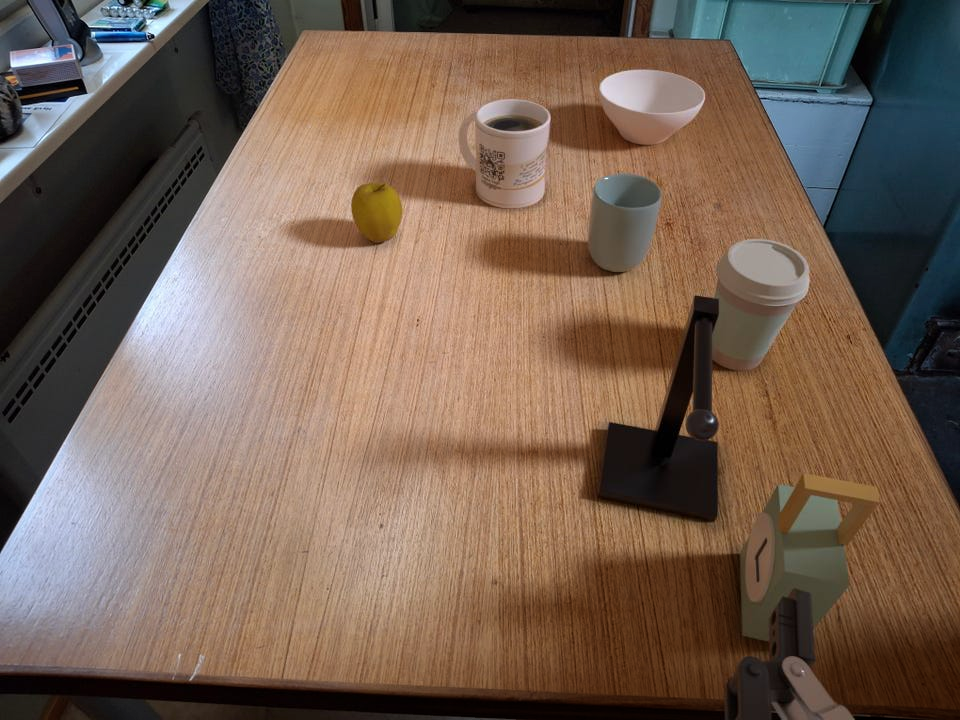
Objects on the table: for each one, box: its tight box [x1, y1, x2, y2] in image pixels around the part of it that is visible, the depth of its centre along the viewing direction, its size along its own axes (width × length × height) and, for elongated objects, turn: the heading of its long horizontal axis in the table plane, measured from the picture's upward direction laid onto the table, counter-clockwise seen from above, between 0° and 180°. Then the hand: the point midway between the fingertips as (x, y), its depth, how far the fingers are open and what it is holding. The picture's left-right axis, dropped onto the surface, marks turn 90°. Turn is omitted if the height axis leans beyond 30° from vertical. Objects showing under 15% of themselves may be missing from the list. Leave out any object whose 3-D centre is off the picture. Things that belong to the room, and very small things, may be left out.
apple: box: [350, 182, 403, 244], centre depth 84 cm, size 6×6×8 cm
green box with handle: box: [739, 472, 881, 643], centre depth 47 cm, size 5×7×15 cm, turn 166°
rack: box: [597, 294, 720, 523], centre depth 52 cm, size 10×14×18 cm
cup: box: [587, 173, 663, 273], centre depth 80 cm, size 8×8×10 cm
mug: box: [457, 98, 552, 209], centre depth 92 cm, size 10×12×11 cm
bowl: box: [598, 69, 706, 146], centre depth 105 cm, size 16×16×7 cm
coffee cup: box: [712, 238, 811, 372], centre depth 68 cm, size 8×8×12 cm
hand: (887, 625), depth 32 cm, fingers open, 8 cm apart
